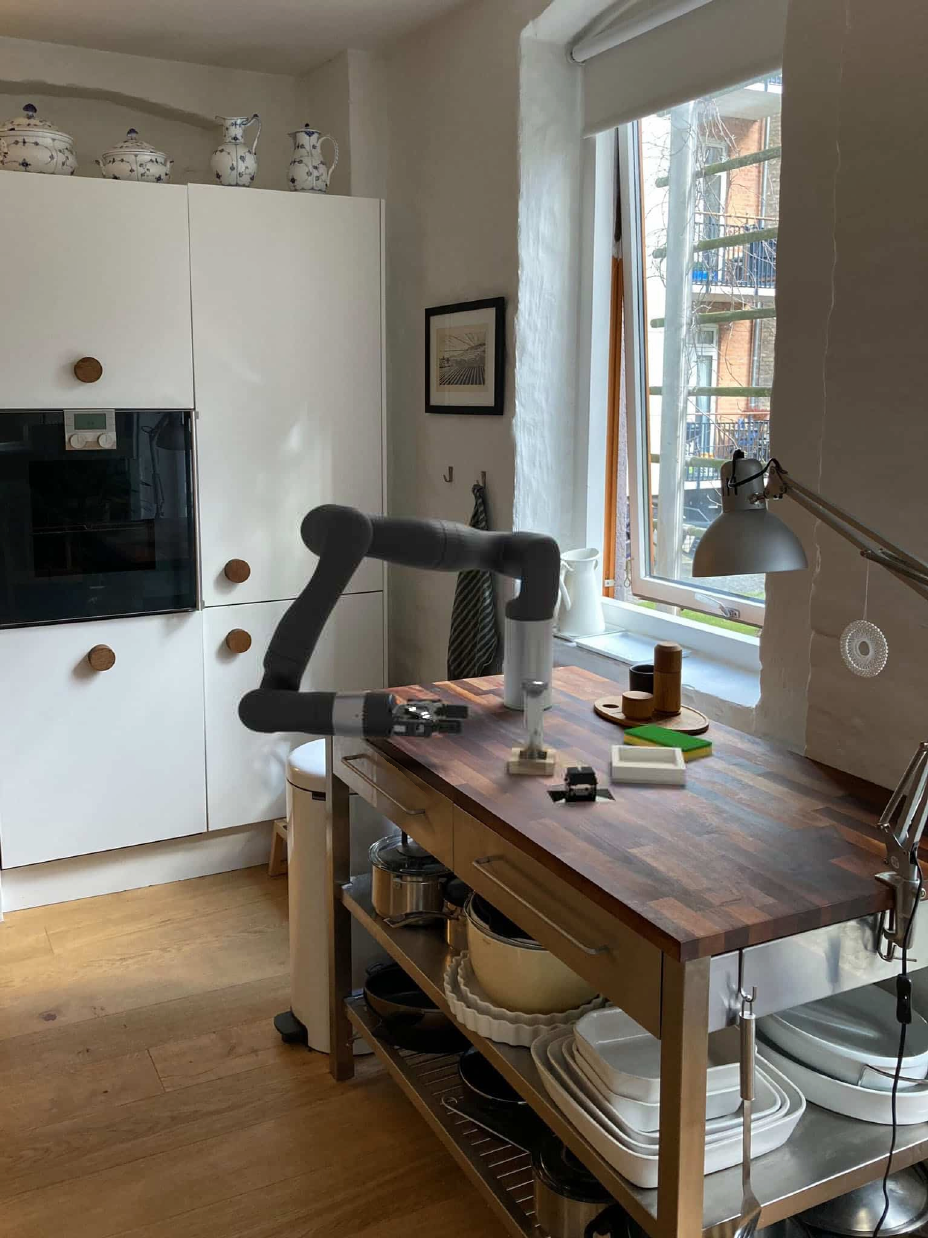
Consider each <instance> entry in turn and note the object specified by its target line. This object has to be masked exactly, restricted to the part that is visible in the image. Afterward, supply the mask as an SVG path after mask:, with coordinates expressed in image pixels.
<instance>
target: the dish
mask: <svg viewBox="0 0 928 1238" xmlns="http://www.w3.org/2000/svg"><path fill="white" fill-rule="evenodd" d="M610 759H611V760H610V761H611V780H612V781H611V782H612V783H628V784H633V783H634V784H654V785H673V786H674V785H676V786H679V785H680V786H686V777H687V768H686V763H685V761H684V759H683V755H682V752H681V748H670V747H645V746H636V745H621V744H620V745H617V744H616V745H615V744H614V745H613V744H612V745H611V757H610Z"/></svg>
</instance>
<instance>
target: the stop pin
mask: <svg viewBox="0 0 928 1238" xmlns="http://www.w3.org/2000/svg"><path fill="white" fill-rule="evenodd" d="M520 688H521V689H522V690H525V699H524V710H523V714H524V715H523V720H524V721H523V748H524V755H523V759H536V760H542V750H543V749H544V747H543V743H544V741H543V739H544V735H543V734H544V709H543V703H544V691H545V690H547V689H548V681H547V680H544V679H536V678H530V679H523V680H521V681H520Z"/></svg>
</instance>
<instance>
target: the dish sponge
mask: <svg viewBox="0 0 928 1238" xmlns="http://www.w3.org/2000/svg"><path fill="white" fill-rule="evenodd" d="M623 732H624V737H623V740H624V741H623V742H624V743H627V744H631V745H632V746H645V747H670V748H681V752H682V755H683V759H684V762H686V761H691V760H694V759H695V760H696V759H698V758H702V757H705V756H708V755H712V754H713V742H712V741H710V740H706V739H703V738H699V737H697V736H693V735H690V734H686V733H683V732H679V731H676V730H673V729H669V728H666V727H662V726H659V725H656V724H653V723H650V724H645V725H642V726H638V727H637V726H636V727H633V728H630V729H625V730H624V731H623ZM697 757H698V758H697Z"/></svg>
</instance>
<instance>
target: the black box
mask: <svg viewBox="0 0 928 1238" xmlns="http://www.w3.org/2000/svg"><path fill="white" fill-rule="evenodd" d="M563 781H564V789H557V790H556V789H555V790H553V789H552V790H550V789H549V790H546V792H547V794H548V796H549V797H550V799H551V801H552V802H553V803H554V804H559V803H560V804H562V803H563V804H564V803H565V804H566V803H567V804H568V803H594V802H595V803H596V802H597V803H598V802H599V803H600V802H616V799H615V798H614V796H613V795H612V793H611V792H610V790H609V789H608V788H598V784H599V782H598V778H597V776H596V772H595V770H594V769H593V767H592V766H580V769H579V768H578V766H567V767H566V773H564V777H563ZM580 785H587V787H586V786H585V787H581V788H574V787H577V786H580ZM588 786H589V787H588Z"/></svg>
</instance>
